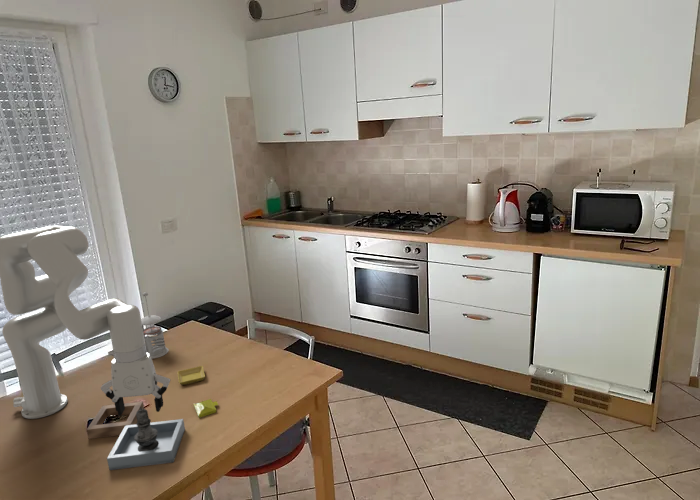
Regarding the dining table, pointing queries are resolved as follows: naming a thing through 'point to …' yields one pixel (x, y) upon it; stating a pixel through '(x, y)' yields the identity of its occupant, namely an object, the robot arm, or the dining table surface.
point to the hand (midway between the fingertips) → (140, 410)
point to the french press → (158, 340)
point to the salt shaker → (145, 432)
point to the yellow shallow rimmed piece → (191, 375)
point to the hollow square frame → (112, 429)
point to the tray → (165, 452)
